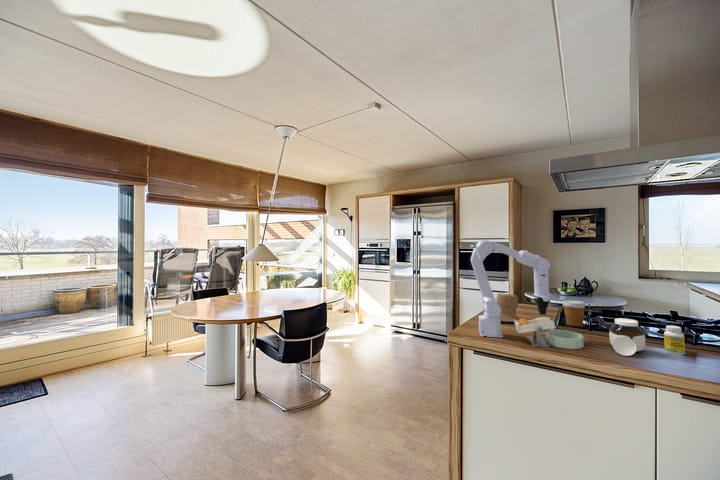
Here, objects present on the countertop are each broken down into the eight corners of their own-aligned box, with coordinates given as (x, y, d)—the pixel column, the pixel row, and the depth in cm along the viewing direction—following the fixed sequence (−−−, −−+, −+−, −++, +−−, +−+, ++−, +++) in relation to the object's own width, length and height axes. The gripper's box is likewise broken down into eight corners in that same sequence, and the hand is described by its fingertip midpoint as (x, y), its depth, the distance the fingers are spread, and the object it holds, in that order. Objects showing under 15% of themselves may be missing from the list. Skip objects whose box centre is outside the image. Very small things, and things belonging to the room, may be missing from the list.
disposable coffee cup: (590, 328, 146) (589, 303, 146) (568, 328, 148) (567, 303, 148) (580, 323, 156) (579, 299, 156) (559, 323, 158) (558, 299, 158)
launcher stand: (533, 346, 126) (532, 327, 126) (526, 337, 138) (525, 320, 138) (549, 347, 124) (548, 328, 124) (541, 338, 136) (540, 320, 136)
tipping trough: (518, 333, 130) (516, 323, 130) (512, 323, 144) (510, 315, 144) (555, 327, 126) (552, 318, 126) (545, 318, 140) (543, 310, 140)
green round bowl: (551, 347, 124) (551, 337, 124) (543, 337, 136) (542, 328, 136) (588, 349, 120) (588, 339, 120) (576, 339, 132) (575, 330, 132)
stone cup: (518, 318, 168) (517, 291, 168) (522, 324, 157) (521, 295, 157) (488, 317, 173) (487, 291, 173) (490, 323, 162) (489, 294, 162)
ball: (519, 328, 131) (518, 319, 131) (517, 326, 135) (516, 317, 135) (529, 329, 130) (529, 319, 130) (527, 326, 134) (526, 317, 134)
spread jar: (636, 347, 121) (634, 318, 121) (656, 358, 110) (655, 326, 110) (601, 346, 124) (600, 317, 124) (617, 357, 113) (616, 325, 113)
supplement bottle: (679, 350, 116) (678, 325, 116) (688, 355, 112) (687, 329, 112) (661, 349, 118) (660, 324, 118) (669, 354, 113) (668, 328, 113)
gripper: (556, 286, 130) (557, 318, 130) (546, 281, 144) (547, 310, 144) (537, 286, 132) (539, 317, 132) (530, 281, 146) (531, 310, 146)
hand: (542, 314), depth 138 cm, fingers closed
